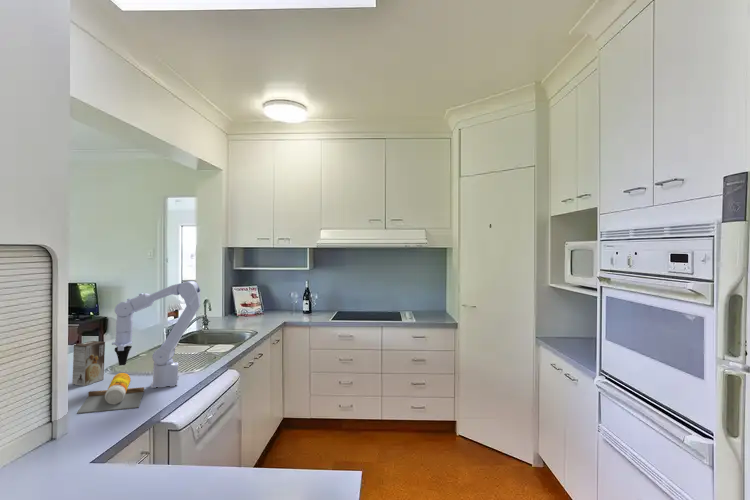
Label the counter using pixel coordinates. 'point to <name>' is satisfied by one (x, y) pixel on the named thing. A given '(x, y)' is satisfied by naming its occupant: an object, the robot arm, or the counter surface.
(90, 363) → the coffee box
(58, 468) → the counter surface
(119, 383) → the beer can
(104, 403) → the mat
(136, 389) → the bar
